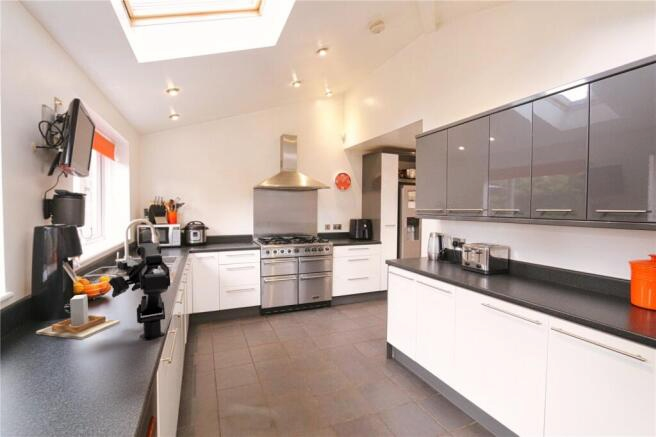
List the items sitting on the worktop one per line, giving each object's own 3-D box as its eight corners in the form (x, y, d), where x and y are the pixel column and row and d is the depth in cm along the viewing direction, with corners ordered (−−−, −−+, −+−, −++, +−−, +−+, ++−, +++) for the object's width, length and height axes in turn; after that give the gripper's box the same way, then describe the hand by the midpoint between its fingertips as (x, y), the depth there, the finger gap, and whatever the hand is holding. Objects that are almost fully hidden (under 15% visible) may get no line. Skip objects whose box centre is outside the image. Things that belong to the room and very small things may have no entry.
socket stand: (119, 323, 131) (119, 315, 130) (82, 339, 115) (82, 330, 115) (77, 319, 135) (77, 311, 135) (36, 333, 120) (35, 325, 120)
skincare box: (75, 324, 127) (74, 295, 126) (88, 322, 129) (87, 294, 128) (70, 329, 121) (69, 299, 121) (84, 327, 123) (83, 298, 123)
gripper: (150, 249, 134) (129, 273, 137) (112, 257, 116) (88, 284, 119) (166, 268, 133) (145, 292, 136) (130, 279, 114) (106, 306, 117)
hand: (122, 293), depth 127 cm, fingers open, 9 cm apart
